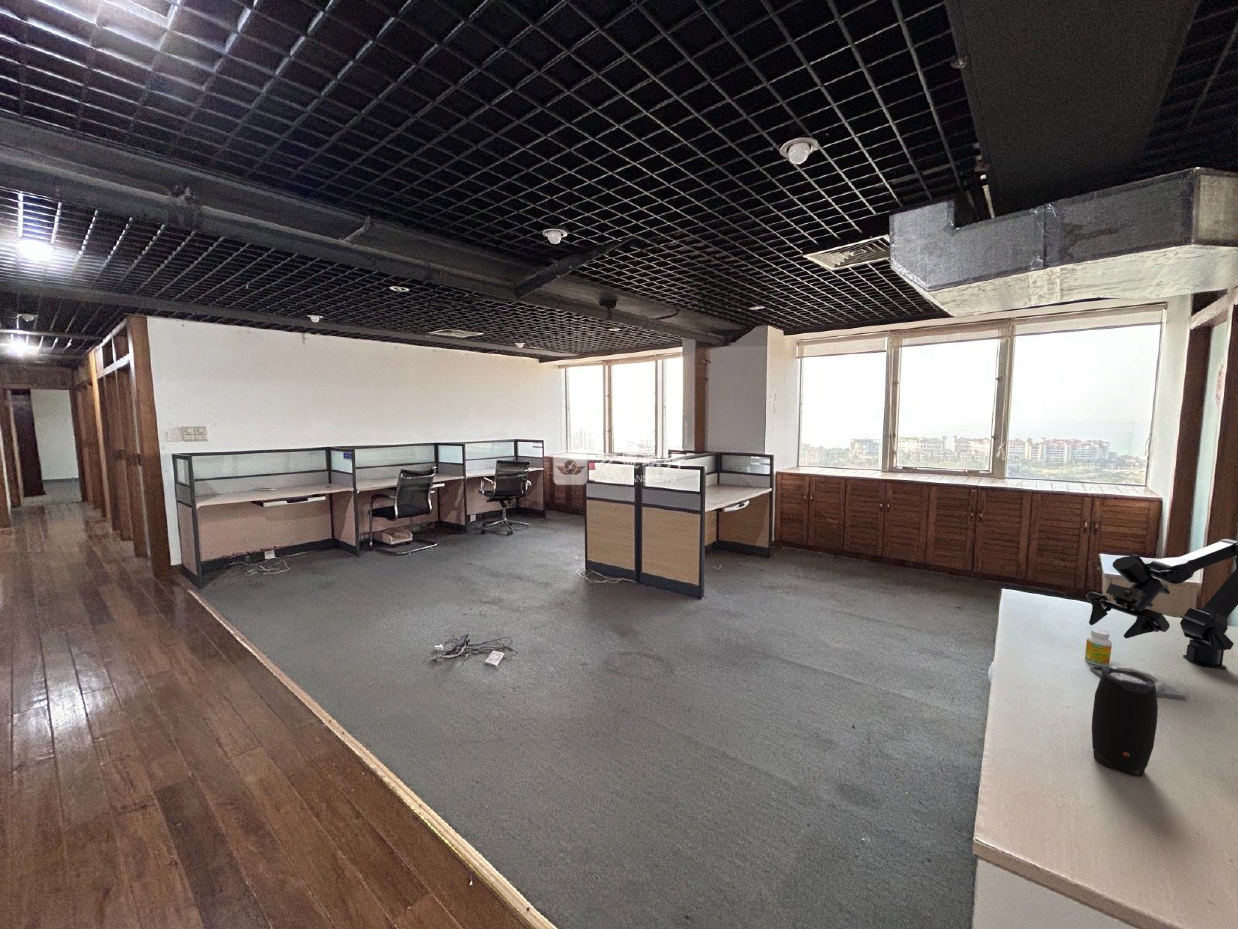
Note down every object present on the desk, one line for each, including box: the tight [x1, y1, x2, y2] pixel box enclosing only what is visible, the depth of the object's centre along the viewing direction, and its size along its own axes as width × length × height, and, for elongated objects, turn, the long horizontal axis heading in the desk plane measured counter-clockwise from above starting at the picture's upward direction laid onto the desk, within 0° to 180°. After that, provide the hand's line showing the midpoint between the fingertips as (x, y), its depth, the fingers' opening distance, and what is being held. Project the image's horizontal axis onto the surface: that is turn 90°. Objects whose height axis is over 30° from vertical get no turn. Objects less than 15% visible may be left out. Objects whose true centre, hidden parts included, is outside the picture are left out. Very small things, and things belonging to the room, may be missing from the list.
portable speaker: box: [1091, 666, 1159, 777], centre depth 104 cm, size 9×9×20 cm
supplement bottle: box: [1084, 628, 1113, 667], centre depth 150 cm, size 5×5×10 cm
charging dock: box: [1089, 665, 1186, 700], centre depth 138 cm, size 14×12×2 cm
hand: (1106, 630), depth 150 cm, fingers open, 9 cm apart
